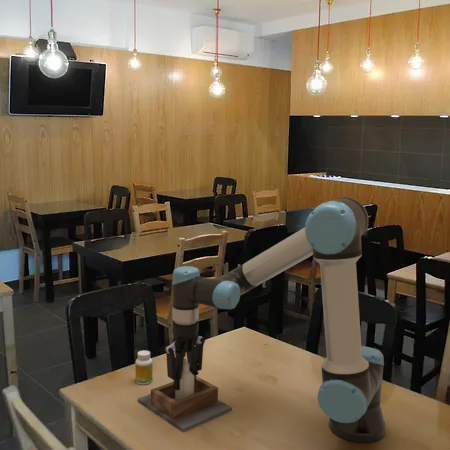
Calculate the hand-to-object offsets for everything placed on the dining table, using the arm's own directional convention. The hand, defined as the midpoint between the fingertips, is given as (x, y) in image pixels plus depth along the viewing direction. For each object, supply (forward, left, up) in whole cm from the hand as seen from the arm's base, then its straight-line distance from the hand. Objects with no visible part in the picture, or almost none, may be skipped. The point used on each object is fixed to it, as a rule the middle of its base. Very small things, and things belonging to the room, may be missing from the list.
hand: (184, 396), depth 163 cm
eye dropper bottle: (0, 0, 0) cm, 0 cm away
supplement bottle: (+21, 0, -3) cm, 21 cm away
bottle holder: (0, 0, -3) cm, 3 cm away
